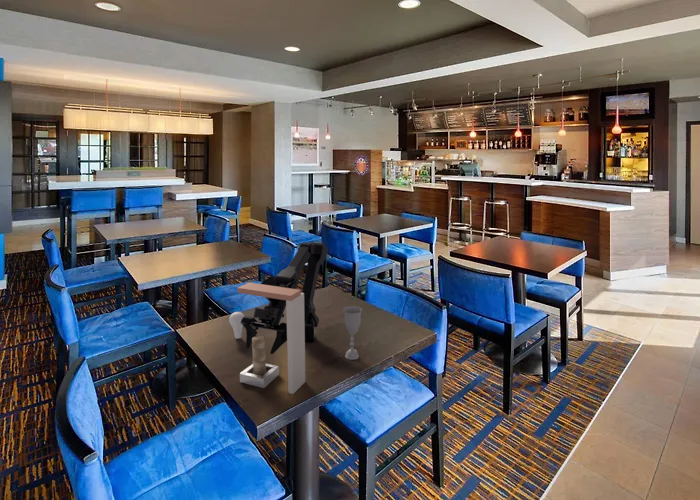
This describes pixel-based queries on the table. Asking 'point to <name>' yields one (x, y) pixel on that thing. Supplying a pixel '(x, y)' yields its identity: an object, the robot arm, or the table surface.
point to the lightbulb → (236, 323)
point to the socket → (258, 380)
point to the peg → (259, 355)
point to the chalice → (352, 327)
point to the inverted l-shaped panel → (288, 327)
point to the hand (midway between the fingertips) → (259, 351)
